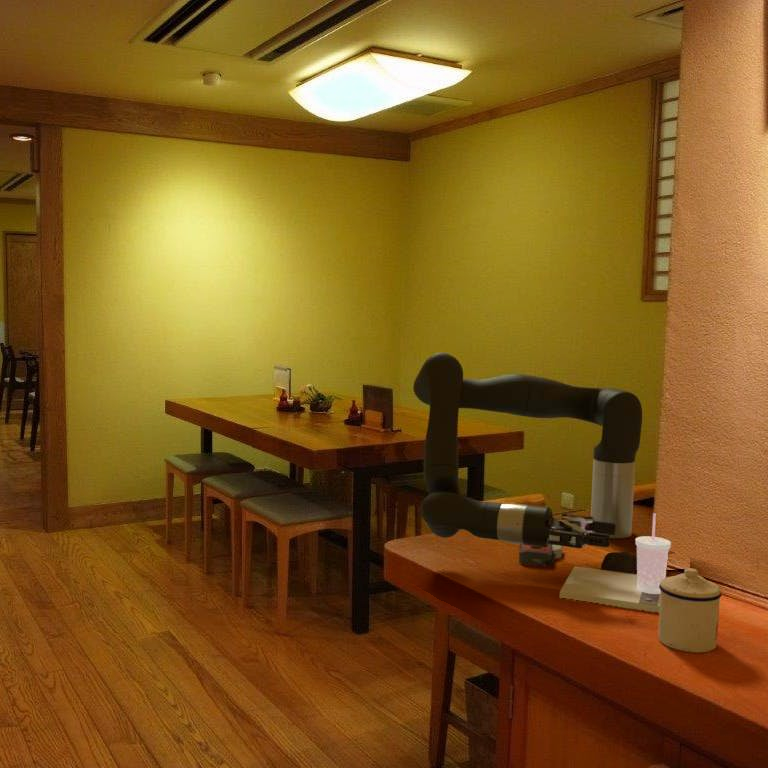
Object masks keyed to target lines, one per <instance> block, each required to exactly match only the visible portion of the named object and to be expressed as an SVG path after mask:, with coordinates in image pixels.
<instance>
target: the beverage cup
mask: <svg viewBox="0 0 768 768" xmlns="http://www.w3.org/2000/svg"><path fill="white" fill-rule="evenodd" d="M656 517H657V513H656V512H653V513H652V528H651V529H652V531H651V536H649V535H647V536H646V535H644V536H643V535H642V536H637V537H636V538H635V546H636V555H637V572H636V575H637V589H638V590H639V591H641V592H644V593H649V594H660V593H661V590H660V588H659V585H660V583H661V581H662V580H663V579H665V578H667V571H666V569H667V561H668V553H670V551H669V550H670V549H671V546H672V542H671V540H668V539H666V538H663V537H660V536H659V537H657V536H656V519H657V518H656Z"/></svg>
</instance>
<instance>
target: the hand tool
mask: <svg viewBox="0 0 768 768" xmlns="http://www.w3.org/2000/svg"><path fill="white" fill-rule="evenodd" d="M600 570H607V571H614V572H622V573H629V574H635V573H636V574H637V554H632V553H630V552H628V551H621V552H619V551H618V552H617V551H613V552H608V553H607V554H605V556H604V558H603V560H602V562H601V565H600Z"/></svg>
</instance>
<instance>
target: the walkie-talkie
mask: <svg viewBox="0 0 768 768" xmlns="http://www.w3.org/2000/svg"><path fill="white" fill-rule="evenodd" d="M518 553H519V554H518V564H520V563H521V564H520V565H524V564H531V565H530V566H536V565H545V566H544V567H550V566H549V565H551V566H553V565H554V560H556V559H555V558H557V559H560V558H562V553H563V546H559V545H551V544H549V545H548V546H547V547H538V546H531V545H523V544H519V552H518ZM559 557H560V558H559Z"/></svg>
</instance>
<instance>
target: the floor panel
mask: <svg viewBox="0 0 768 768" xmlns="http://www.w3.org/2000/svg"><path fill="white" fill-rule="evenodd" d="M562 598H567V599H566V600H569V599H575V600H574V601H576V600H582V601H588V602H587V603H589V602H593V603H592V604H595V603H599V604H598V605H602V604H605V605H604V606H609V605H611V606H610V607H615V606H617V607H618V608H623V609H630V610H635V609H636V610H637V611H642V610H644V612H649V611H650V613H655V612H657V613H656V614H659V611H660V594H649V593H644V592H641V591H639V590H638V589H637V573H636V574H635V573H631V574H629V573H622V572H614V571H607V570H601V568H600V569H598V568H592V567H585V566H584V567H583V566H577V565H575V566H574V567H572V570H571V572H570V573H569V575H568V576H567V578H566V580H565V581H564V583H563V585H562V587H561V589H560V590H559V599H562ZM582 601H581V602H582Z"/></svg>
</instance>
